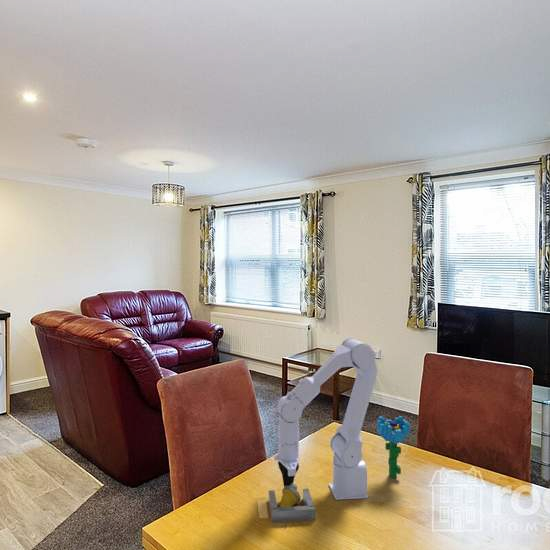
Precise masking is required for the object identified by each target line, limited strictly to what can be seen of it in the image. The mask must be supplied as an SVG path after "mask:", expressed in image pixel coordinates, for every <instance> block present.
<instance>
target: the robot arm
mask: <svg viewBox="0 0 550 550" xmlns="http://www.w3.org/2000/svg"><path fill="white" fill-rule="evenodd" d="M376 355H377V354H376V352H375V351H374V350H373V348H372V347H371V346H370V345H369V344H368V343H366V342H365V343H364V342H362V341H360V340H358V339H356V338H354V337H347V338H346V339H344V340H343V342H342V343H341V344H339V345H337V347H336V348H335V350H334V351H333V353H332V354H331V355H329V357H328V358H327V360H326V361H324V362H323V364H322V365H321V366H320V367H319V368H318V370H316V371H315V373H313V375H312V376H305V377H304V378H300V379H299V380H298V384H296V386H295V387H294V388H292V390H291V391H288V392H287V393H286V395H283V396H281V397H280V398H279V399H278V401H277V404H276V405H275V408H276V411H277V412H278V413H279V415H278V432H277V433H278V435H277V436H278V441H277V442H278V443H277V445H278V446H277V447H278V449H277V450H278V453H277V454H274V455H273V458H274V461H278V462H277V464H278V465H277V466H278V469H279V470H280V473H281V475H282V483H283V488H284V487H285V486H290V485H291V483H293V484H294V481H295V477H296V475H297V472H298V470H299V469H300V465H299V461H300V454H299V452H300V450H299V449H300V448H299V447H300V445H299V443H300V441H299V440H300V425H299V424H300V419H301V417H302V414H303V410H304V409H305V408H306V407H307V406H308V404H310V403H311V402H312V401H313V399H315V397H316V396H318V395H319V394H320V392H321V386H322V385H323V384H324V383H325V382H327V381H328V379H330V378H331V377H332V376H333V375H334V374H335V373H336V372H337V371H339V370H340V369H341V368H348V367H349V368H350V367H351V368H352V367H353V368H354V370H355V371H356V376H355V381H354V383H353V386H352V390H351V394H350V396H349V397H350V398H349V401H348V405H347V408H346V410H345V414H344V418H343V421H342V424H341V425H340V426H338V427H337V428H336V432H335V433H334V434H333V436H332V437H331V439H330V442H329V446H330V448H331V450H332V451H333V459H332V460H333V461H332V482H329V483H328V486H329V488H330V491H331V493H332V496H333V497H334V500H336V501H339V500H340V501H341V500H343V501H344V500H356V499H358V500H359V499H368V498H369V496H368V495H369V494H368V469H367V465H366V462H365V461H364V459H362V458H363V452H362V449H363V438H362V433H361V431H362V428H363V425H364V421H365V416H366V414H367V411H368V410H367V409H368V408H369V407H368V406H369V403H370V400H371V396H372V393H373V388H374V386H375V382H376V378H377V376H378V369H377V363H376Z"/></svg>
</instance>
